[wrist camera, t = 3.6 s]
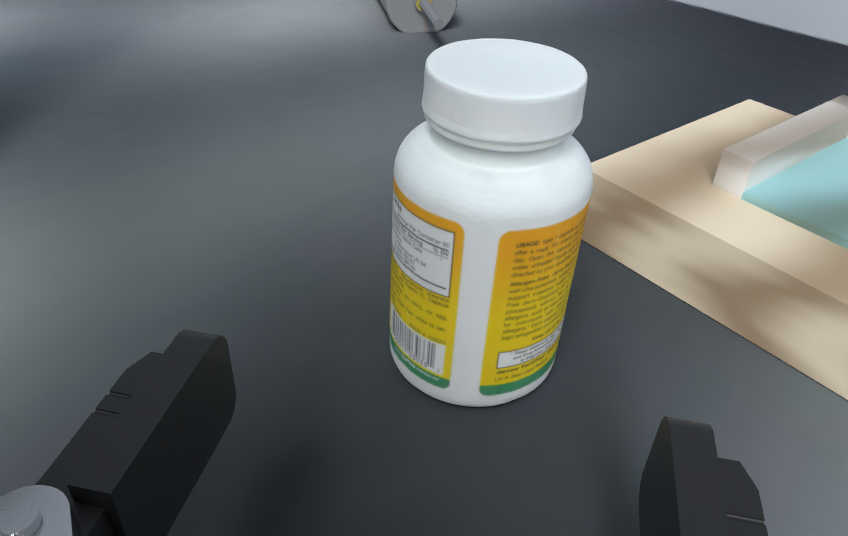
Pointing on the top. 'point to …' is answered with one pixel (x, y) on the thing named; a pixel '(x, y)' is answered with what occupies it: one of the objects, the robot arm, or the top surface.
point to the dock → (741, 226)
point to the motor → (420, 14)
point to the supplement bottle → (488, 220)
